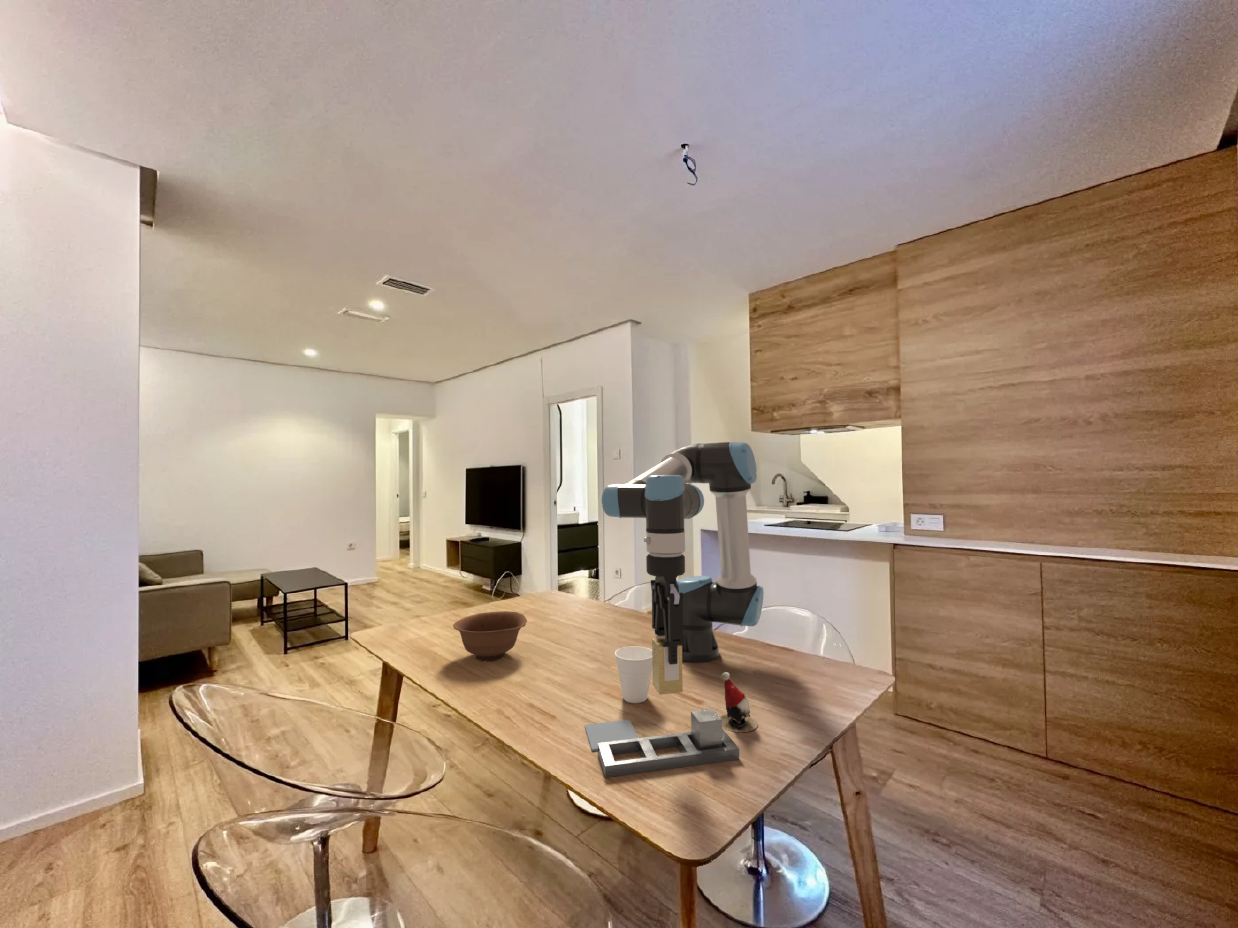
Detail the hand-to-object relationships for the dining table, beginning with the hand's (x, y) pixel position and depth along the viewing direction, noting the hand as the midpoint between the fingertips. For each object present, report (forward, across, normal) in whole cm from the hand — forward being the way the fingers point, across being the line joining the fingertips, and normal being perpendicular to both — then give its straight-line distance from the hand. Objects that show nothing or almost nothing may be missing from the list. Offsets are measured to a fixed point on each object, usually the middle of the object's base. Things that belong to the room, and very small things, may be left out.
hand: (667, 673), depth 95 cm
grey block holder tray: (+16, 0, 0) cm, 16 cm away
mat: (+16, -10, -9) cm, 21 cm away
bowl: (+16, -64, -36) cm, 75 cm away
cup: (+16, -26, 0) cm, 30 cm away
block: (+16, 0, +8) cm, 18 cm away
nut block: (+3, 0, 0) cm, 3 cm away
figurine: (+16, -9, +19) cm, 26 cm away
